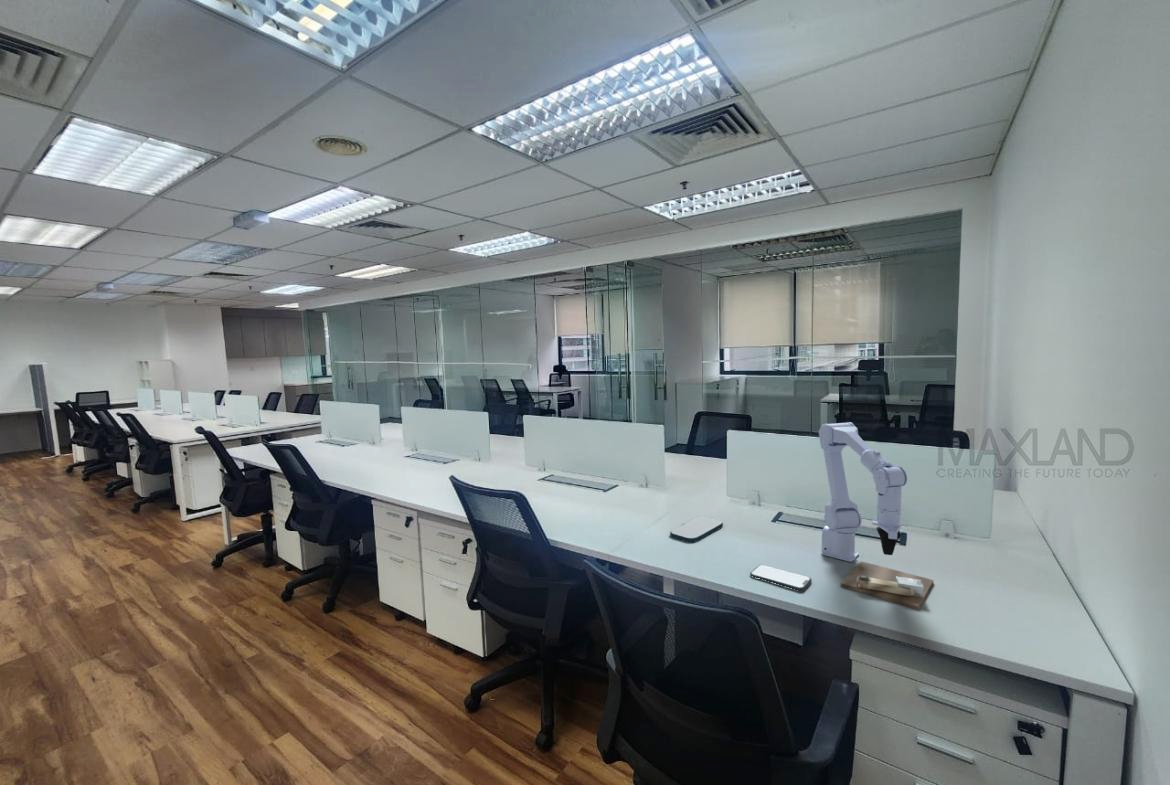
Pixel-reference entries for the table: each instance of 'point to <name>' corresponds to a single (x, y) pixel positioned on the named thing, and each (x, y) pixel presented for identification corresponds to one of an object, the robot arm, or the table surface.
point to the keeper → (911, 585)
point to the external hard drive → (696, 529)
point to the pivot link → (882, 585)
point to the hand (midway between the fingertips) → (887, 553)
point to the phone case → (781, 577)
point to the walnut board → (888, 575)
